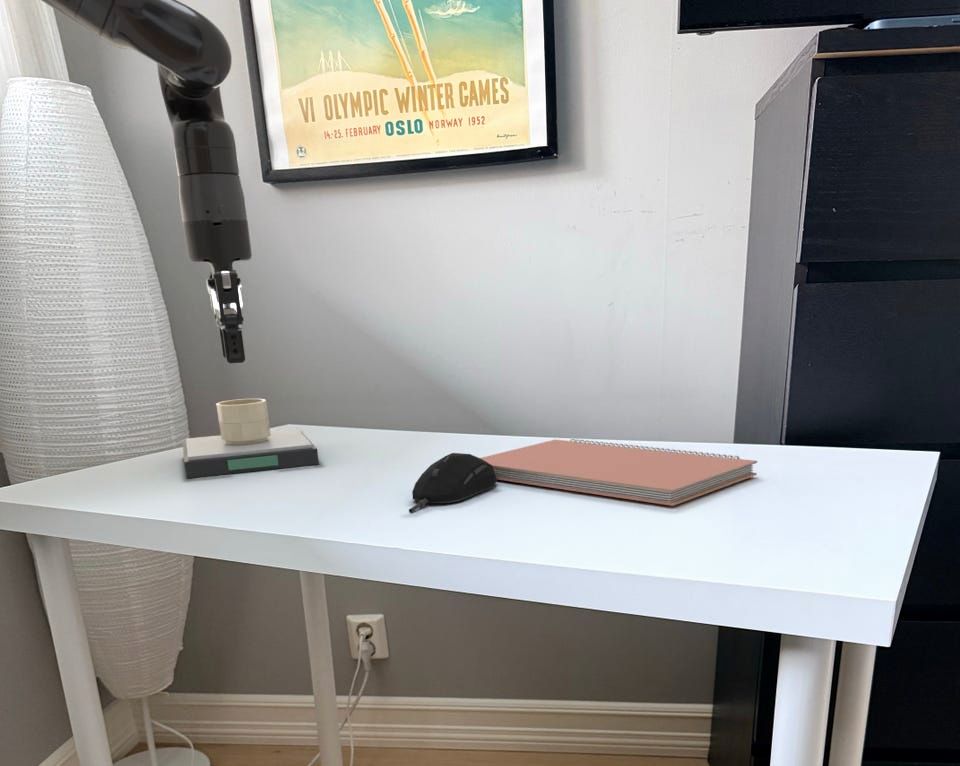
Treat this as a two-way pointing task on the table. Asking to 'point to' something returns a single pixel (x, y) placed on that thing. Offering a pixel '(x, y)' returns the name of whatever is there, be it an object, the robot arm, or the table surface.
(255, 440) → the container
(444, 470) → the gaming mouse
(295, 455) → the scale
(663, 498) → the notebook
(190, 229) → the robot arm
